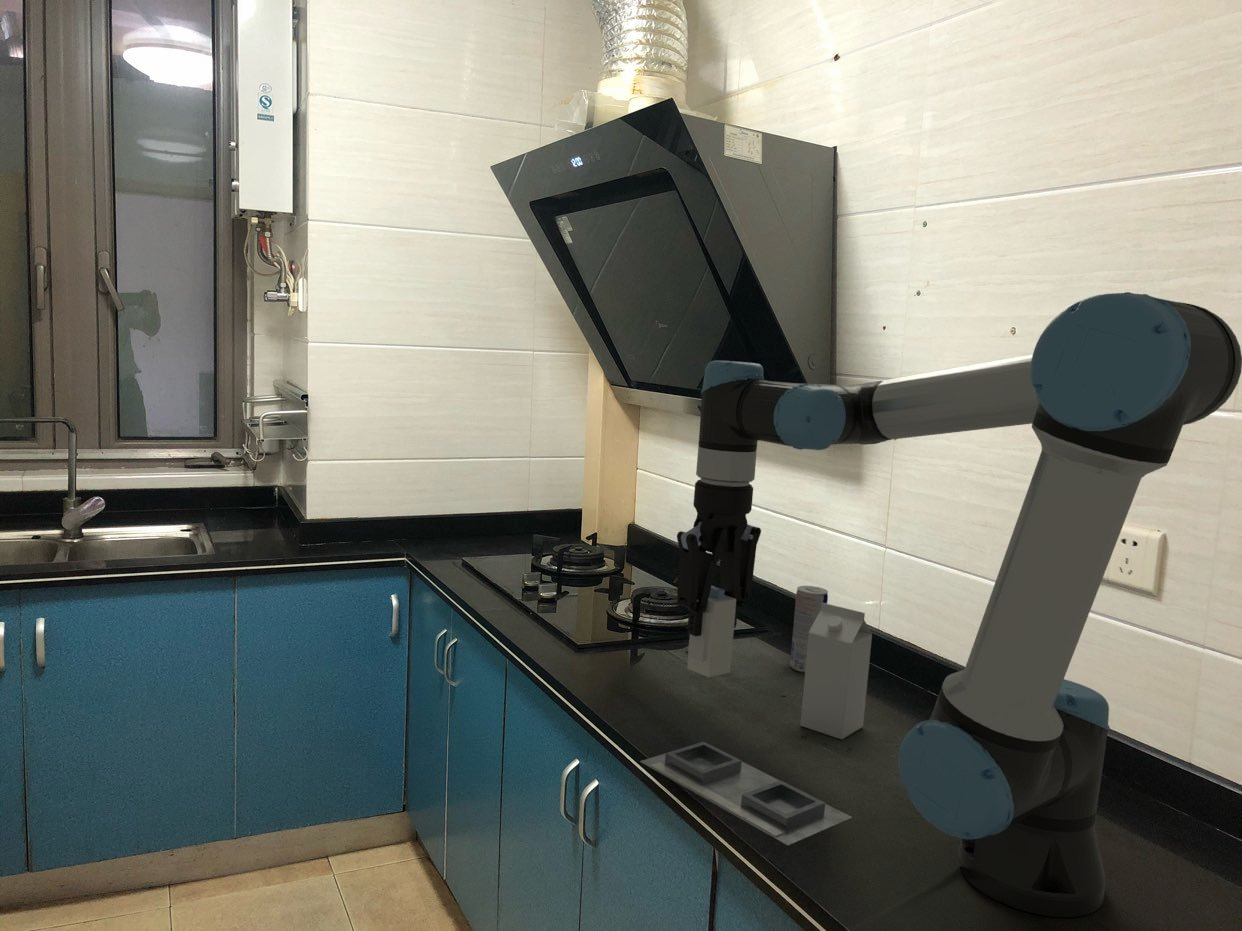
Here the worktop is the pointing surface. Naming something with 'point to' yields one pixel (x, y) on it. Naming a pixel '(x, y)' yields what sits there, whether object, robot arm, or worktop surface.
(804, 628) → the beverage can
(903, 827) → the worktop surface
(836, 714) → the milk carton
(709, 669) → the plug
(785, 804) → the panel
